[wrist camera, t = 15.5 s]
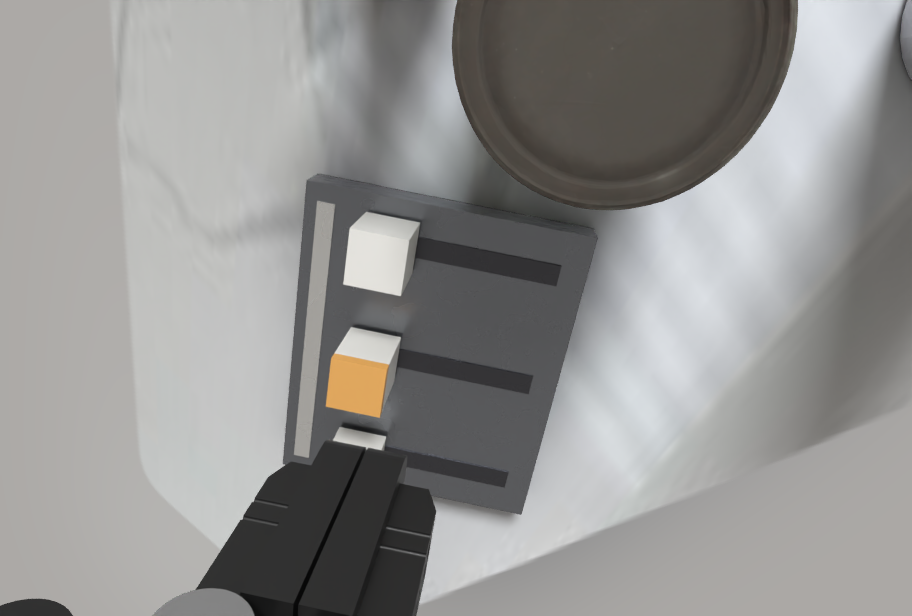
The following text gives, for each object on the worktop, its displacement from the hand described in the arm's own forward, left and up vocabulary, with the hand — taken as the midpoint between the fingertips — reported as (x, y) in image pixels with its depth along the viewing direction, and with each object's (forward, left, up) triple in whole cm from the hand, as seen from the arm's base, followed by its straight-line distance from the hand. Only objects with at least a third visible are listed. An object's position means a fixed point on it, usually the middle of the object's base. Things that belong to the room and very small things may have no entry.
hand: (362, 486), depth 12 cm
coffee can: (-4, -8, -26) cm, 28 cm away
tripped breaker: (+4, +10, -24) cm, 26 cm away
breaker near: (+4, +3, -24) cm, 24 cm away
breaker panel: (+1, +10, -26) cm, 28 cm away
